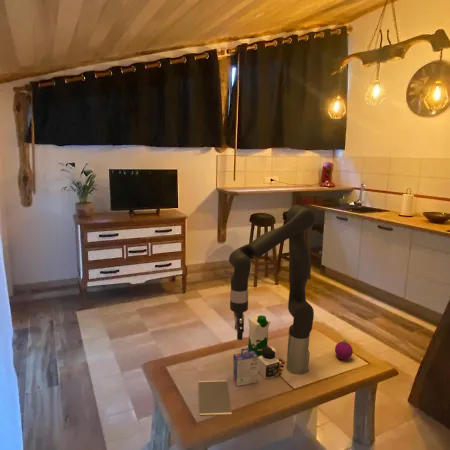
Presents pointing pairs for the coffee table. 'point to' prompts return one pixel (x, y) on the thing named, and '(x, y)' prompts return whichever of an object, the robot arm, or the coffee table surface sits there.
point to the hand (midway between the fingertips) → (238, 334)
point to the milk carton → (258, 333)
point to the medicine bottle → (268, 363)
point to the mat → (214, 398)
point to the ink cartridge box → (245, 367)
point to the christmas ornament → (343, 350)
